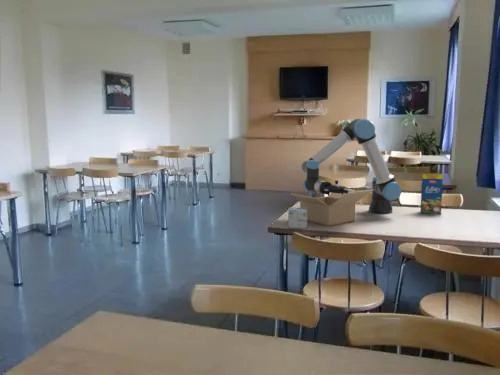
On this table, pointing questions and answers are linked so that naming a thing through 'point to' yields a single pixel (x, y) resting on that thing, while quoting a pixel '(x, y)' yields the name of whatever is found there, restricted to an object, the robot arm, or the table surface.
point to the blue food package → (431, 194)
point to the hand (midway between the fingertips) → (353, 192)
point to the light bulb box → (297, 218)
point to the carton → (327, 209)
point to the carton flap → (351, 197)
